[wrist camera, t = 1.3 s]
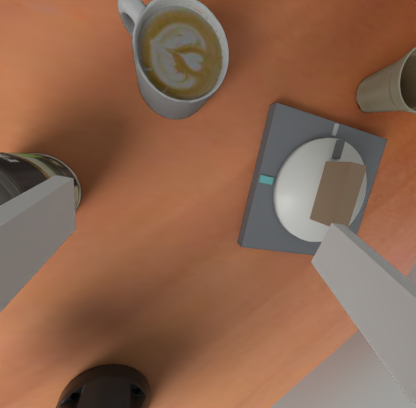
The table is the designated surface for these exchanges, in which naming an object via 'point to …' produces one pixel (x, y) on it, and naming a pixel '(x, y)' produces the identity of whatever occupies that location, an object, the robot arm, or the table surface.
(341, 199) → the dial
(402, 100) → the flower pot
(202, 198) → the table surface
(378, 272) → the robot arm
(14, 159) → the coffee can
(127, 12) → the coffee mug
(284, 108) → the base plate
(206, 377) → the table surface
